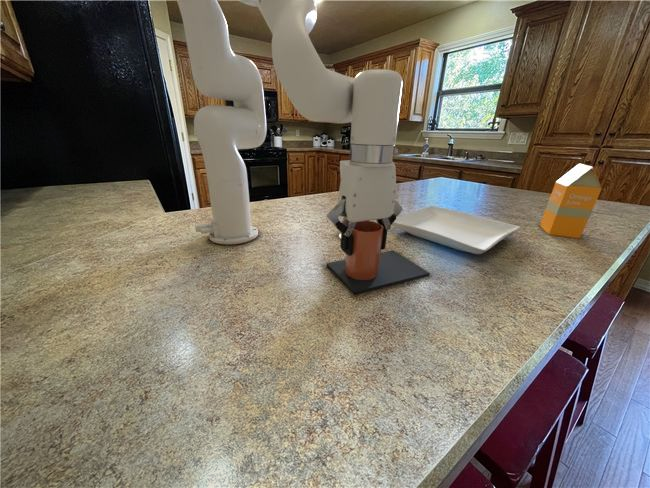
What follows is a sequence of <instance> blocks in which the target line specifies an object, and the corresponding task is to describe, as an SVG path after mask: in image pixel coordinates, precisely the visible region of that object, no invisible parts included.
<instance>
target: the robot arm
mask: <svg viewBox="0 0 650 488" xmlns="http://www.w3.org/2000/svg"><path fill="white" fill-rule="evenodd" d="M236 1H238V2H239V3H242V4H244V5H247V6H250V7H256V8H258V10H259V12H260V13H261V15H262V18H263V20H264V21H265V23H266V25H267V27H268V28H269V29H268V30H270V32H271V35H272V37H271V57H272V64H273V68H274V71H275V74H276V77H277V79H278V81H279V83H280V85H281V86H282V88H283V90H284V92H285V94H286V96H287V98H288V99H289V101H290V103H291V104H292V106H293V107H294V109H295V110H296V111H297V112H298V113H299V115H301V117H303V118H304V119H306V120H308V121H311V122H316V123H330V124H349V123H350V139H349V140H350V141H349V142H350V144H349V159H348V160H349V163H345V165H344V168H343V172H342V177H341V176H340V183H339V189H338V197H337V203H336V204H335V206H334V207H333V208H332V209H331V210H330V211H329V212H328V213H327V214H326V219H327V220H328V221H329V223H331V224H332V225H333V227H335V228H336V229H337V230H338V231H339V232H340V233H341V238H340V249H341V251H342V252H343V253H345V255H346V254H347V255H348V256H351V255H352V254H353V240H354V237H353V236H352V235H351V233H352V231H353V229H354V227H355V225H356V223H357V222H362V221H374V220H375V222H377V223H379V224H381V225H382V226H383V227H384V231H383V239H382V247H381V250H385V249H386V244H387V237H388V231H389V230H391V228H392V226H393V225H392V223H393V222H394V221H395V220H396V217H397V216H400V215H401V213H402V211H403V207H402V205H400V203H399V202H398V201H397V200H396V195H397V194H396V193H397V171H396V170H397V169H396V164H394V159H395V157H397V156H398V155H399V149H398V148H396V140H397V132H398V124H399V116H400V115H399V114H400V107H401V99H402V91H403V90H402V89H403V78H402V76H401V74H400V73H399V72H398V71H395V70H393V69H384V68H383V69H382V68H381V69H380V68H377V69H376V68H375V69H366V70H363V71H361V72H358V74H356V76H355V77H353V76H352V77H351V76H348V75H344V74H342V73H339V72H337V71H334V70H331V69H329V68H327V67H326V65H324V63H323V61H322V59H321V57H320V55H319V54H318V52H317V50H316V48H315V46H314V45H313V42H312V41H311V38H310V36H309V35H310V34H311V32H312V30H313V29H314V27H315V24H316V22H317V18H318V9H317V5H316V2H315V0H236ZM176 2H177V6H178V8H179V9H178V10H179V12H180V15H181V19H182V24H183V29H184V36H185V43H186V47H187V48H186V49H187V53H188V59H189V64H190V70H191V75H192V78H193V82H194V85H195V88H196V89H197V91H198V92H199V93H200V94H201V95H203V96H204V97H207V98H211V99H216V100H223V101H232V102H233V106H231V105H220V104H219V105H218V104H209V105H206V106H203V107H201V108H199V109H198V110H197V111H196V112H195V115H194V118H193V129H194V133H195V136H196V139H197V142H198V144H199V147H200V150H201V154H202V158H203V163H204V164H203V165H204V168H205V176H206V181H207V182H206V183H207V188H208V193H209V194H208V195H209V201H210V208H211V214H212V218H211V221H210V222H207V223H205V224H202V223H201V224H194V229H195V233H200V234H201V235H204V234H205V235H206V234H208V238H209V240H210V241H211V242H213V243H215V244H219V245H238V244H245V243H248V242H251V241H253V240H254V239H256V238H257V237H258V236H259V230H258V228H257V227H255V226H253V224H252V213H251V203H250V192H249V181H248V171H247V167H246V163H245V160H243V157H242V156H241V154H240V152H239V150H249V149H256V148H259V147H261V146H262V145H263V144H264V143H265V140H266V137H267V131H268V130H267V127H268V125H267V116H266V106H265V105H266V104H265V91H264V85H263V79H262V75H261V72H260V71H259V69H258V67H257V65H256V64H255V63H254V62H253V61H252V60H251V59H249V58H247V57H245V56H243V55H240V54H236V53H234V52H233V51H232V47H231V44H230V43H231V42H230V35H229V28H228V24H227V20H226V18H225V15H224V12H223V10H222V7H221V5H220V4H219V2H218V0H176ZM339 217H343V218H342V221H340V219H339Z"/></svg>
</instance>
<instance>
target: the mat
mask: <svg viewBox="0 0 650 488" xmlns="http://www.w3.org/2000/svg"><path fill="white" fill-rule="evenodd" d="M326 267H327V268H328V269H329V270H330V271H331V272H332V273H333V274H334V275H335V276H336V277H337V278H338V279H339V280H340V281H341V282H342V283H343V284H344V285H345V286H346V288H348V290H350V292H352V294H353V295H358V294H362V293H366V292H370V291H375V290H378V289H383V288H385V287H386V288H387V287H390V286H395V285H398V284H402V283H406V282H410V281H413V280H417V279H421V278H425V277H429V276H430V274H431V273H430V272H429V271H427V270H426V269H424V268H422V267H421V266H420V265H417V264H416V263H414V262H413V261H412V260H409V259H408V258H406V256H405V257H404V256H403V255H402V254H400V253H398V252H397V251H395V250H389V251H388V250H387V251H384V252H381V255H380V263H379V271H378V275H377V277H375V278H373V279H371V280H357V279H354V278H351V277H349V276H348V275H347V274H346V273H345V259H342V260H338V261H337V260H336V261H332V262H328V263H326Z"/></svg>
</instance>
